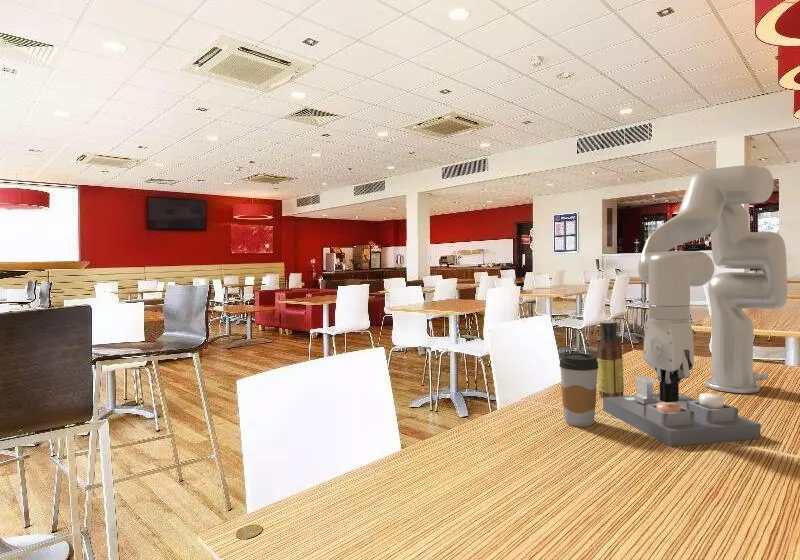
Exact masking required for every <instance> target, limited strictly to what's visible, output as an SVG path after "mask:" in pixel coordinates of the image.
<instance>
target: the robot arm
mask: <svg viewBox="0 0 800 560" xmlns="http://www.w3.org/2000/svg"><path fill="white" fill-rule="evenodd" d="M774 184H775V183H774V177H773V175H772V173H771V171H770V170H769V169H768V168H767V167H765V166H759V165H751V164H750V165H748V164H745V165H744V164H743V165H734V166H727V167H726V166H725V167H716V168H710V169H704V170H701V171H698V172H696V173H695V174H694V175H692V176H691V178H690V179H689V181H688V184H687V186H686V190H685V191H684V195H683V198H682V201H681V204H680V206H679V209H678V213H677V214H676V215H675V216H673V217H671V218H670V219H669V220H667V221H665V222H664V223H663V224H661V225H660V226H659V227H658V228H656V229H655V230H654V231H653V232H652V233H651V234H650V235H649V236H648V238H647V239H646V241H645V244H644V245H643V248H642V251H641V253H640V257H639V259H638V267H637V268H638V270H637V271H638V276H639V279H640V280H641V281H642V282H643V283H645V284H646V285H648V318H646V322H645V327H644V334H643V335H644V336H643V361H644V363H646V364H647V365H649V366H650V368H652V369H653V370H654V371H655V373H656V375H657V376H656V377H657V380H658V382H659V394H660V400H661V401H664V402H666V403H668V402H678V400H679V393H680V391H679V389H680V388H679V386H680V383H682V379H690V377H691V373H690V371H691V370H693V368H694V365H695V347H694V338H693V337H694V336H693V329H692V323H691V322H690V321H691V287H693V288H694V287H701V286H703V285H706V284H707V283H708V287H707V290H708V296H709V303H710V309H711V378H707V379H705V380H704V385H705V387H707V388H710V389H713V390H715V391H720V392H726V393H734V394H755V393H758V392H760V391H761V389H760V387H761V386H760V385H759V384H758V383H757V382H758V381H767V380H768V379H769V375H768V373H767V372H758V373H757V371H754V330H755V329H754V323H753V321H752V320H751V318H750V317H749V315H748V314H747V313H746V312H745V311H744V310H743V309H754V310H755V309H757V310H758V309H759V310H778V309H780V308H783V307H784V306H785V305H786V303H787V300H788V293H789V292H788V270H787V265H788V264H787V251H786V249H787V248H786V242H785V241H784V238H783V236H782V235H781V234H780V233H777V232H774V231H757V232H756V231H755V232H754V231H750V227H749V224H750V223H749V213H748V212H747V210H746V209H745V207H744V206H743V205H747V204H760V203H765V202H766V201H768V200H769V199H770V197H771V196H772V194H773V191H774V186H775V185H774ZM709 234H710V237H711V240H710V241H711V253H712V258H711V257H710V255H708V254H707V253H705V252H703V251H697V250H694V251H693V250H689V251H688V250H686V251H685V250H684V251H683V250H681V251H680V250H672V249H674V248H676V247H679V246H680V245H684V244H687V243H690V242H692V241H693V242H694V241H696V240H698V239H701V238H703V237H706V236H708V235H709ZM712 259H713V260H712ZM715 265H716V267H719V268H721V269H722V268H723V269H736V270H737V269H740V270H743V269H746V270H749V269H750V270H757V269H758V270H761V271H762V272H748V271H747V272H746V271H743V272H742V271H741V272H739V271H738V272H737V271H732V272H731V271H730V272H727V271H726V272H721V273H717V274H715V275H714V271H715Z"/></svg>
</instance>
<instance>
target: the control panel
mask: <svg viewBox="0 0 800 560" xmlns="http://www.w3.org/2000/svg"><path fill="white" fill-rule="evenodd" d="M634 395H635V394H633V395H623V396H619V397H605V398H604V397H602V400H603V401H602V410H603V411H605V412H606V413H608V414H610V415H612V416H614V417H616V418H617V419H620V420H621V421H623V422H625V423H626V424H628V425H630V426H632V427H634V428H635V429H637V430H639V431H641V432H643V433H645V434H646V435H648V436H651V437H652V438H654V439H655V440H657V441H659V442H661V443H663V444H665V445H667V446H669V447H680V446H681V447H682V446H691V445H702V444H713V443H723V442H735V441H744V440H746V441H747V440H758V439H761V432H762V431H761V426H762V424H761V423H760V422H757V421H754V420H751V419H749V418H746V417H744V416H741V415H739V408H738V407H735V406H733V405H730V404H727V403H724V408H720V409H708V408H705V407H703V406H700V405H699V399H697V398H694V397H691V396H689V395H686V394H683V393H681V392H679V400H678V402H670V403H675V404H678V405H680V406H681V412H669V413H665V412H663V411H661V410H658V409H657V403H659V402H664V401H661V400H660V393H653V397H655V398H656V403H653V404H642V403H640V402H638V401H636V400H634Z"/></svg>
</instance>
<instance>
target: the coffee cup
mask: <svg viewBox="0 0 800 560" xmlns="http://www.w3.org/2000/svg"><path fill="white" fill-rule="evenodd" d="M560 358H561V359H560V360H559V364H558V365H559V367H560V378H561V379H560V381H561V386H560V387H561V388H560V389H561V397H562V406H563V407H562V408H563V418H564V419H563V420H565V423H566V424H567V425H569V426H572V427H573V426H574V427H578V428H579V427H580V428H583V427H584V428H585V427H591V426H592V425H594V422H595V416H596V415H595V414H596V406H597V405H596V404H597V392H598V391H597V390H598V389H597V388H598V387H597V385H598V384H597V383H598V368H599V367H598V361H597V355H594V354H589V353H582V352H581V353H579V352H571V353H564V354H562V355H561V357H560Z"/></svg>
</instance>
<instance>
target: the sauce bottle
mask: <svg viewBox="0 0 800 560" xmlns="http://www.w3.org/2000/svg"><path fill="white" fill-rule="evenodd" d="M599 325H600V329H601V330H600V332H601V333H600V335H601V336H600V341H599V342H598V345H597V354H596V361H598V367H599V368H598V371H597V383H598V384H597V385H598V387H597V388H598V389H597V390H598V393H599V394H598V395H599V396H601V397H602V398H605V397H619V396H625V395H624V393H625V392H624V391H625V385H624V382H625V381H624V359H623V349H622V348H623V347H622V345H621V342H620V341H619V340H618V336H617V327H618V323H617V321H615V320H603V321H600V322H599Z"/></svg>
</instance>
